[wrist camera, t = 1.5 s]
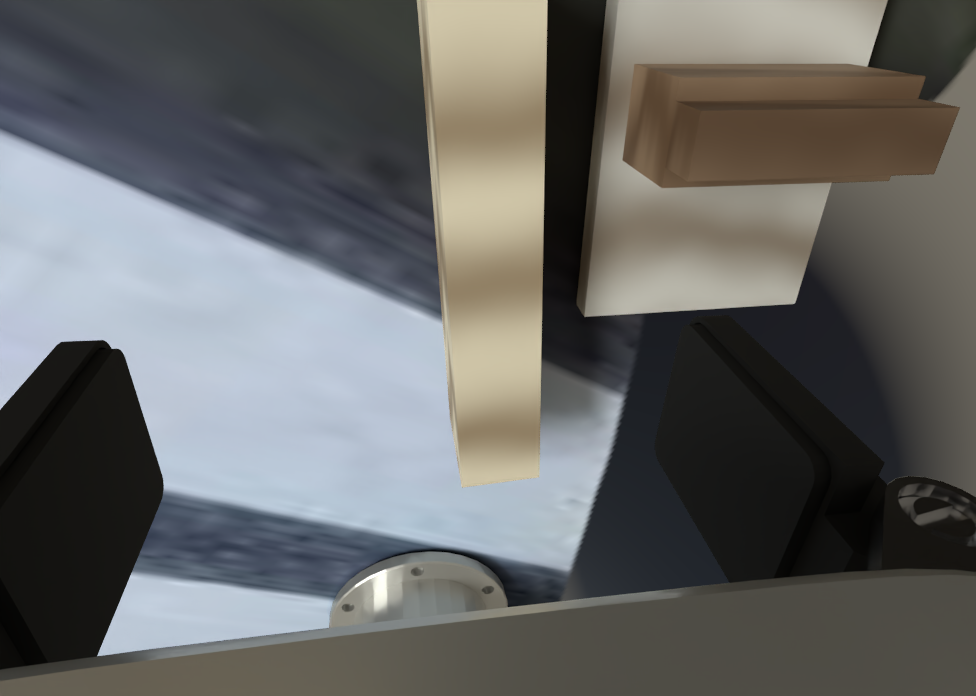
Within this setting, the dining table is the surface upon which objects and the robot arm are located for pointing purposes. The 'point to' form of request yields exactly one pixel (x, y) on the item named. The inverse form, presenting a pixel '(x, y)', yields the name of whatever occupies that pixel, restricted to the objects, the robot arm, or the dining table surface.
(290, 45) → the dining table surface
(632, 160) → the stand
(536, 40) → the beige wooden bar
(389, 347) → the dining table surface
